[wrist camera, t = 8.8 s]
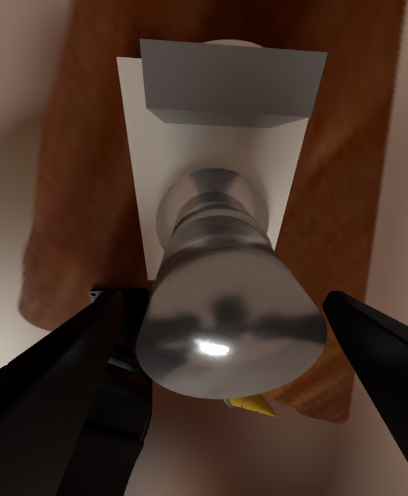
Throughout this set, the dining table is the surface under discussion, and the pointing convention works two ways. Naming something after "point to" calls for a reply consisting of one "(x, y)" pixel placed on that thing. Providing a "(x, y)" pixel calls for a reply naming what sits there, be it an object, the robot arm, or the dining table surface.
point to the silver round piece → (214, 210)
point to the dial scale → (214, 128)
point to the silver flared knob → (226, 315)
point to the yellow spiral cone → (252, 404)
